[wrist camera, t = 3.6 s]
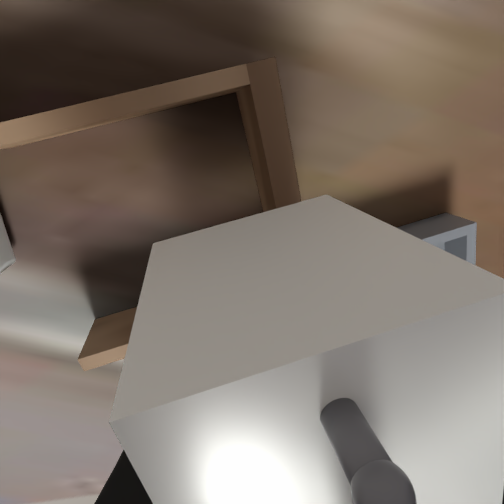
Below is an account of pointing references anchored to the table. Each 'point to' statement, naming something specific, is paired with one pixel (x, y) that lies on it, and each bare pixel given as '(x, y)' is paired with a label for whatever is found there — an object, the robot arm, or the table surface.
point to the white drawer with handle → (314, 366)
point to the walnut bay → (165, 97)
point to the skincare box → (5, 249)
